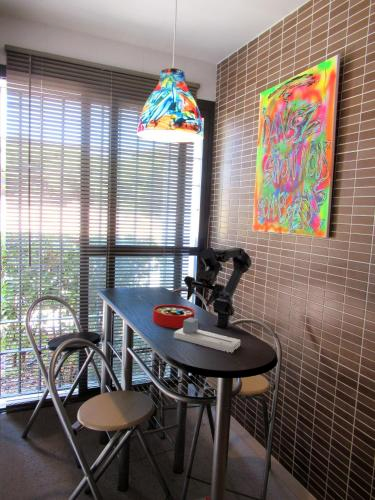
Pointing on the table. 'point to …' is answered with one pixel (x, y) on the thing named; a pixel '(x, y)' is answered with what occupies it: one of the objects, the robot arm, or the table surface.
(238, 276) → the robot arm
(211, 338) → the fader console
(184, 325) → the fader tab
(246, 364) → the table surface
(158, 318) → the red round tin
